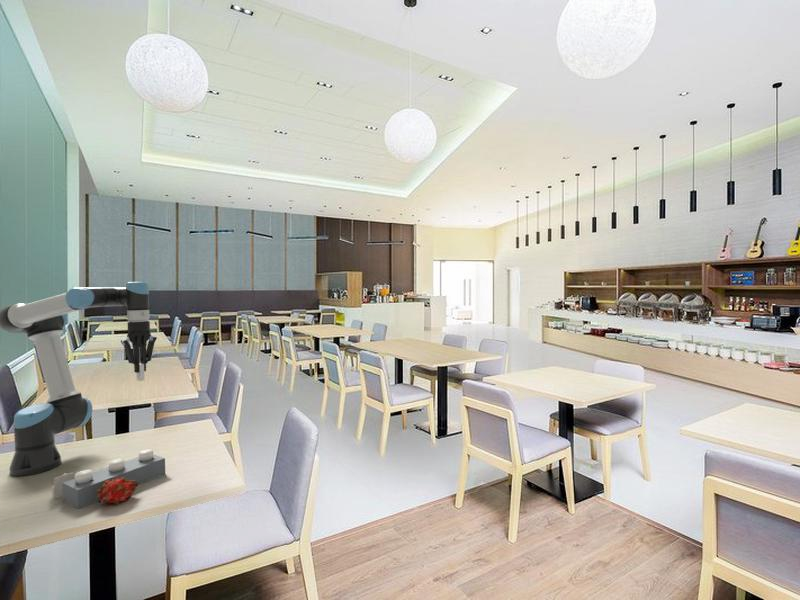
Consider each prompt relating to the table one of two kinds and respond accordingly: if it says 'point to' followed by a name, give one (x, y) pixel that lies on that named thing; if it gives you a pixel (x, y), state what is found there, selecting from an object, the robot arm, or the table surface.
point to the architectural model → (60, 484)
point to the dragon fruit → (116, 490)
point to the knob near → (83, 476)
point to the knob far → (146, 455)
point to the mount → (132, 471)
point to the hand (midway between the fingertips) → (140, 380)
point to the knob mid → (116, 465)
